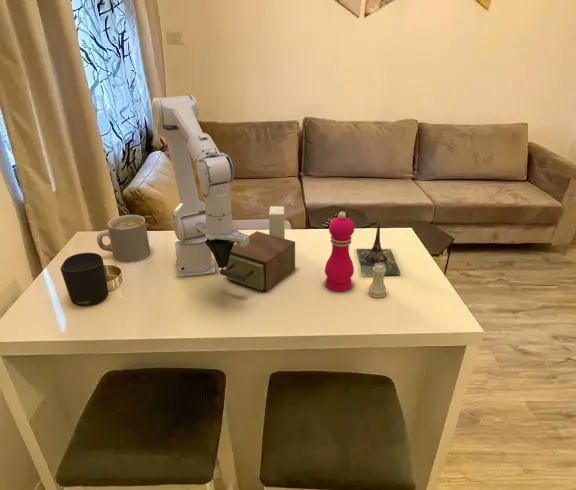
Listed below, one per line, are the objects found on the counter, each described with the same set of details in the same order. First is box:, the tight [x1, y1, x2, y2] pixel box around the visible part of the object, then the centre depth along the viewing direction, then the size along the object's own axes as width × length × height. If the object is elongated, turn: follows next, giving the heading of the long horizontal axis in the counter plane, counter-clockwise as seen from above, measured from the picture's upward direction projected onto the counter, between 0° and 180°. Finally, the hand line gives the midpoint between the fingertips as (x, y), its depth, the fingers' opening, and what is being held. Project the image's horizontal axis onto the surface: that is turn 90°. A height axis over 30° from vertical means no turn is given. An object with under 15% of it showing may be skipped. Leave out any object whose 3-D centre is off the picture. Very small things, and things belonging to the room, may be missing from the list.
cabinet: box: [230, 230, 296, 293], centre depth 125 cm, size 13×12×8 cm
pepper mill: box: [324, 211, 355, 292], centre depth 117 cm, size 7×7×20 cm
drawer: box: [219, 255, 265, 291], centre depth 122 cm, size 17×11×7 cm, turn 147°
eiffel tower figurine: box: [356, 217, 401, 278], centre depth 129 cm, size 15×10×13 cm
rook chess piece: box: [367, 263, 387, 299], centre depth 117 cm, size 4×4×8 cm
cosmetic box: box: [268, 205, 286, 239], centre depth 138 cm, size 6×4×12 cm
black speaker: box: [59, 252, 109, 308], centre depth 115 cm, size 9×9×10 cm
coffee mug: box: [96, 214, 151, 263], centre depth 135 cm, size 13×10×10 cm
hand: (223, 266), depth 112 cm, fingers closed
